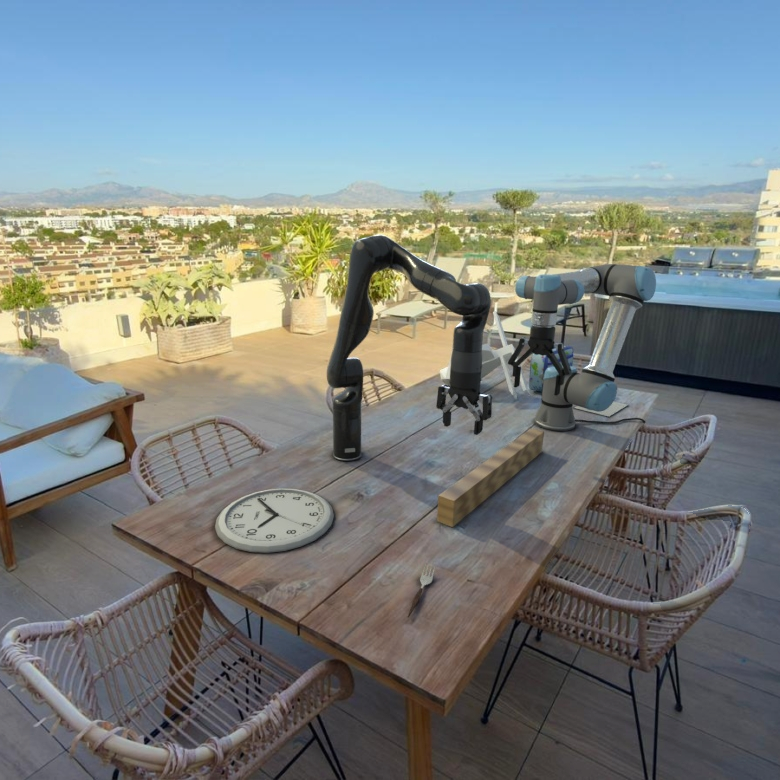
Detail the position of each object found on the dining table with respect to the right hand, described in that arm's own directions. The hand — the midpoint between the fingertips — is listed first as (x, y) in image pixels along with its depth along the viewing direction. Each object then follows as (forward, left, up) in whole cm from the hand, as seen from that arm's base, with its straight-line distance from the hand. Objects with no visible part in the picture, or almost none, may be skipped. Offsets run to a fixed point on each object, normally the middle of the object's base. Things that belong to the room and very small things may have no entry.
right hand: (536, 390), depth 169 cm
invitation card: (-38, -57, -23) cm, 72 cm away
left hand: (+25, +42, +1) cm, 49 cm away
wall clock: (+71, +51, -23) cm, 91 cm away
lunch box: (-20, -80, -23) cm, 86 cm away
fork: (+32, +75, -23) cm, 85 cm away
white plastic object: (+14, -69, -23) cm, 74 cm away
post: (+13, +21, -23) cm, 34 cm away
